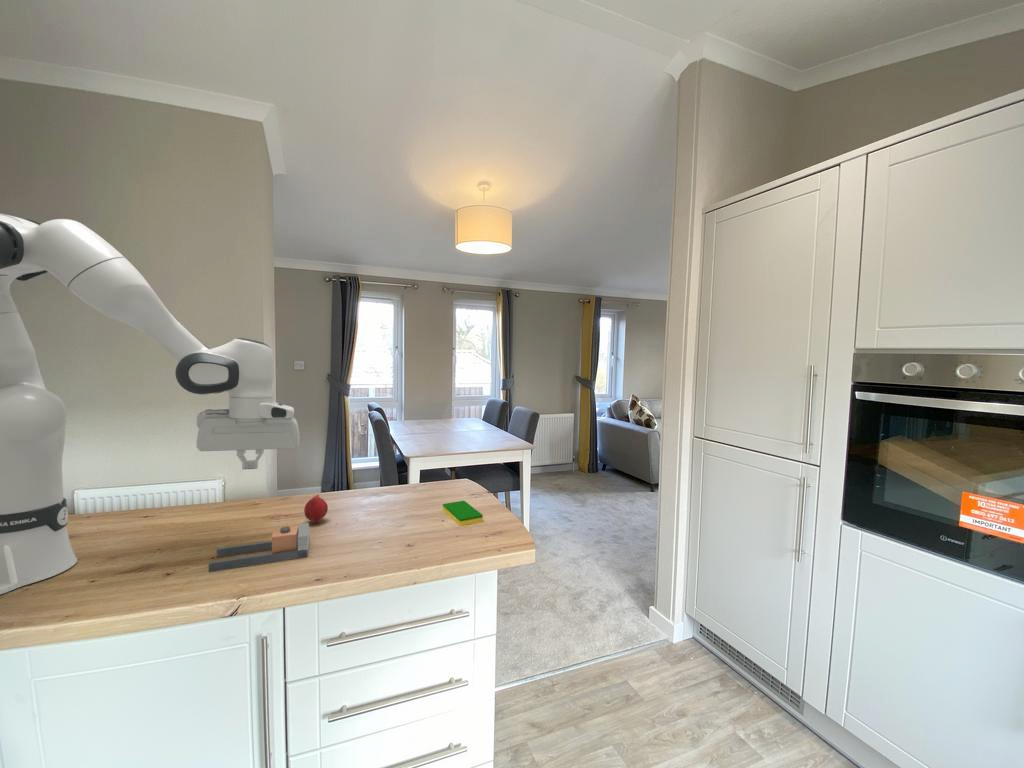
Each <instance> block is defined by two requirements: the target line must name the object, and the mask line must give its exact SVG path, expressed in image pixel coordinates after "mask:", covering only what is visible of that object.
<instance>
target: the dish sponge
mask: <svg viewBox="0 0 1024 768" xmlns="http://www.w3.org/2000/svg"><path fill="white" fill-rule="evenodd" d="M442 511H443V513H444V514H446V515H447V516H448V517H449V518H450V519H451V520H452V521H453V522H454V523H456V525H458V527H464V526H469V525H473V524H475V525H476V524H481V523H483V521H484V518H483V516H484V515H483V514H482V513H481V512H480V511H479V510H477V509H476V508H474V507H473V506H472V505H471V504H469V503H468V502H467V501H466V500H458V501H453V502H452V501H451V502H447V503H443V504H442Z"/></svg>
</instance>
